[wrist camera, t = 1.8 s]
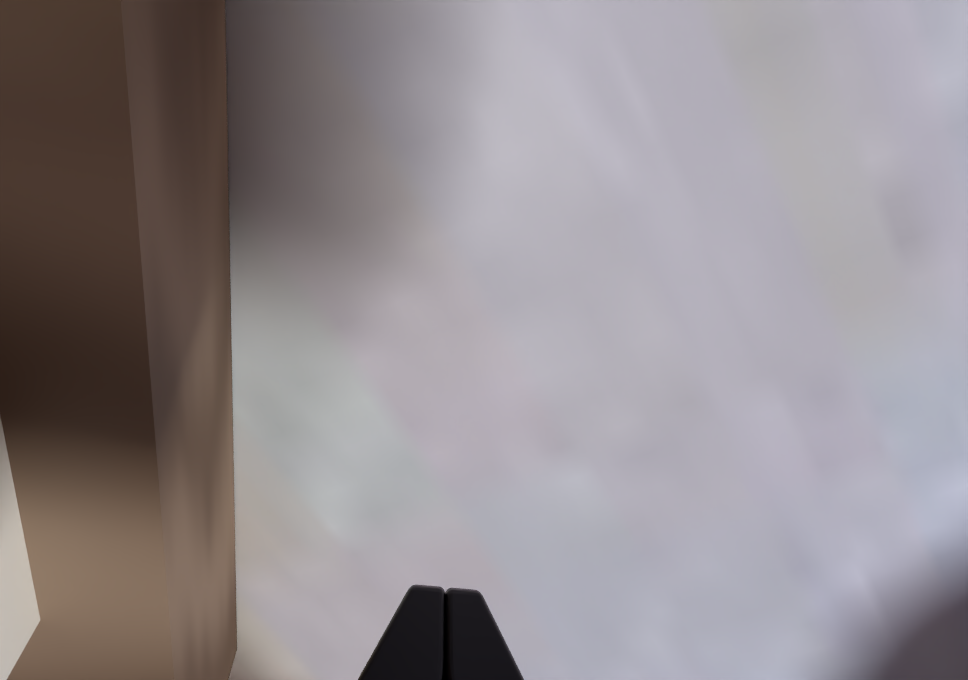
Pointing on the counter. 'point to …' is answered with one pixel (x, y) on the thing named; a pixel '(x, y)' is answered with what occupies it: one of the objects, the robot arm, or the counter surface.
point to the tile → (13, 574)
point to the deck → (119, 334)
